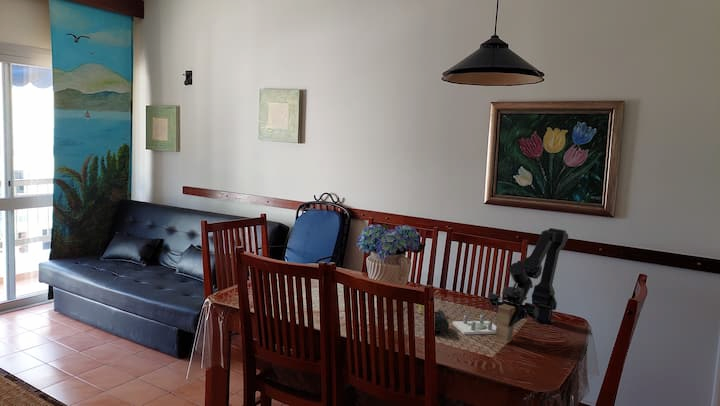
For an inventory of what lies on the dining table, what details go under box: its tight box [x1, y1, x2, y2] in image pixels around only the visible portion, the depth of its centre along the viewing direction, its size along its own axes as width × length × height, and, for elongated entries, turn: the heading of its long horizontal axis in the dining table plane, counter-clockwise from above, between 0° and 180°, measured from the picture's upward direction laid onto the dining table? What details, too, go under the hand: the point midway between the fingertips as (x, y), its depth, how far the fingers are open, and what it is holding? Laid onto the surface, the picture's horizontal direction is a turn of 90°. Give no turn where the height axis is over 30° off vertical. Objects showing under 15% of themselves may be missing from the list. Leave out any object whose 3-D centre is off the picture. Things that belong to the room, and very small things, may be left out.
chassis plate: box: [452, 314, 497, 335], centre depth 197 cm, size 16×11×4 cm
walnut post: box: [494, 304, 516, 345], centre depth 186 cm, size 4×4×13 cm
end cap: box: [433, 309, 450, 336], centre depth 192 cm, size 10×7×7 cm
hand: (503, 324), depth 185 cm, fingers closed on walnut post, 4 cm apart
